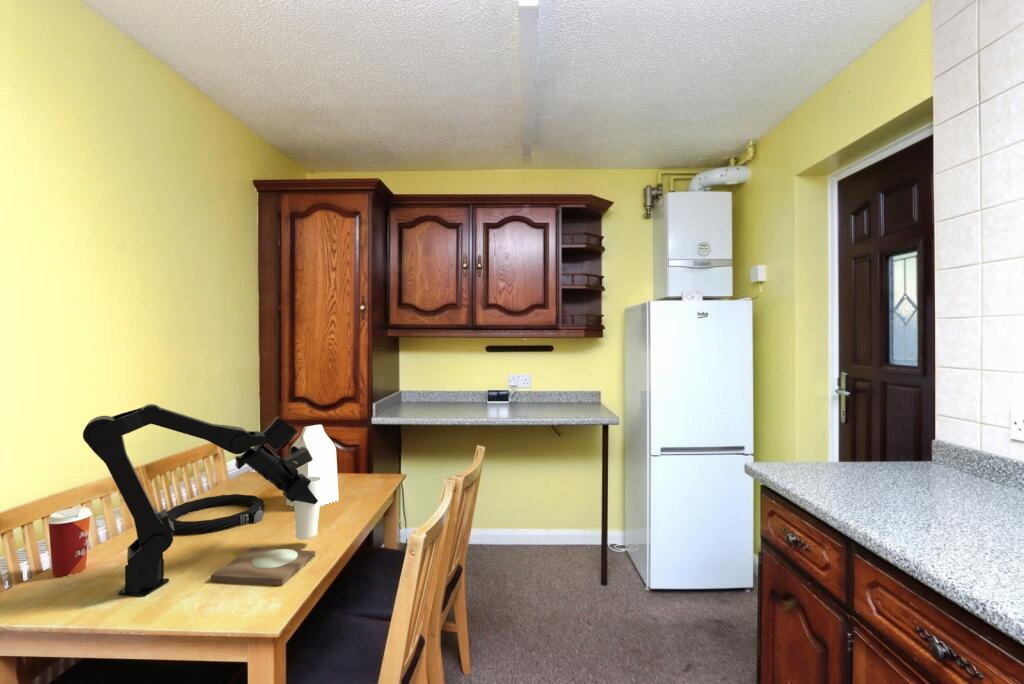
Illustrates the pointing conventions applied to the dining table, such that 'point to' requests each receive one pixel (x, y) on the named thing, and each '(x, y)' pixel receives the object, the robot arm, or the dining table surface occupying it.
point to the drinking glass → (308, 512)
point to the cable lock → (220, 523)
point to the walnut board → (263, 566)
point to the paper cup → (69, 540)
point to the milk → (319, 462)
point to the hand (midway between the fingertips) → (312, 499)
